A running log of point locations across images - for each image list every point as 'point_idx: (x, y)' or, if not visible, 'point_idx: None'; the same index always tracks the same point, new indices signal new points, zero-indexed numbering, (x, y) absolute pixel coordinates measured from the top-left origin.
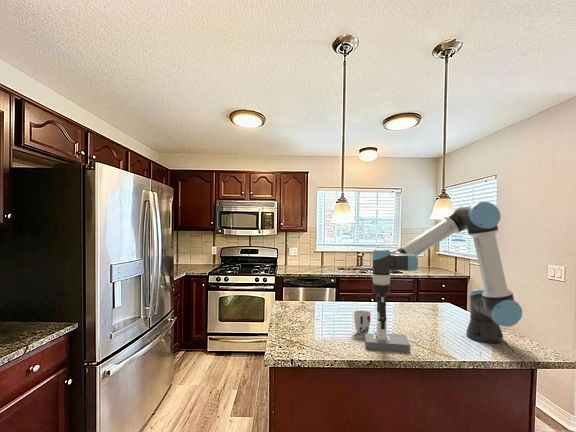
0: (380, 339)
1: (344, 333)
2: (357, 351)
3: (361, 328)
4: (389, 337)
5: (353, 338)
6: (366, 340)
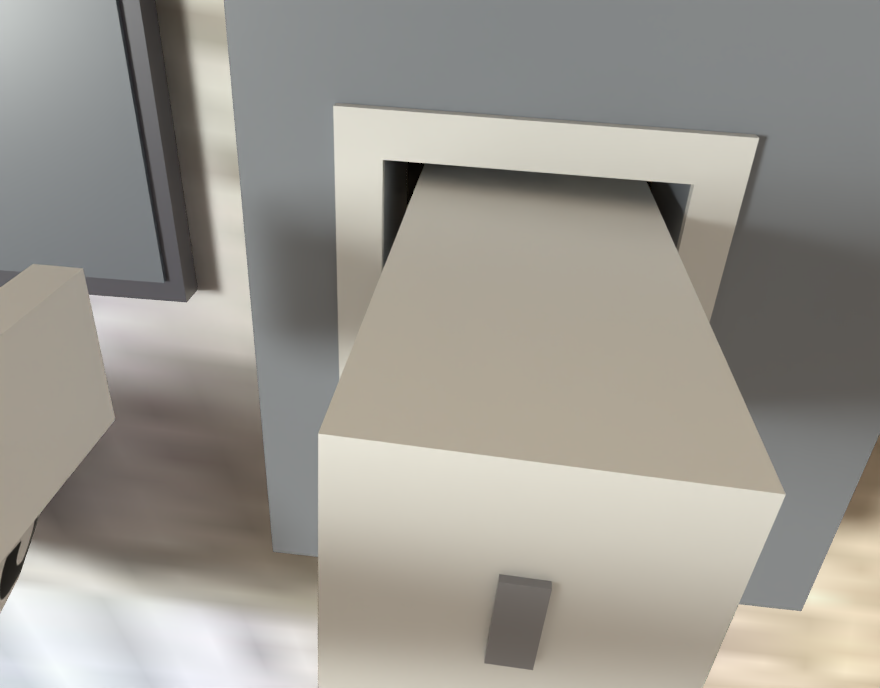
0: None
1: (108, 664)
2: (866, 623)
3: (12, 567)
4: (475, 94)
5: (292, 598)
6: None
